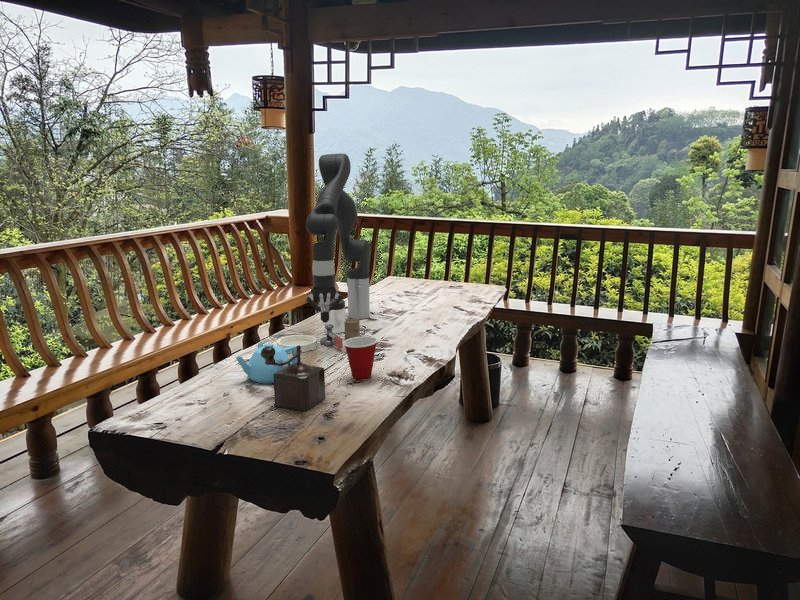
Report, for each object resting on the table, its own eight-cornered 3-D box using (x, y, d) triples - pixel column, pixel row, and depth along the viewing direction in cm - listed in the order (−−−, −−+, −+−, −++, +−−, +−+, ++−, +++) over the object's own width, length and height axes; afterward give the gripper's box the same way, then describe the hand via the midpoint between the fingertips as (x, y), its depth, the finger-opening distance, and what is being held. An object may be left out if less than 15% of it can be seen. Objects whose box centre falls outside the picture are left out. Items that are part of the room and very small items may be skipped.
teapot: (282, 388, 175) (280, 353, 173) (236, 384, 179) (233, 349, 177) (303, 371, 190) (302, 339, 187) (260, 367, 194) (258, 335, 191)
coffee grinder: (293, 392, 172) (290, 332, 168) (326, 398, 168) (324, 337, 164) (260, 413, 158) (256, 348, 154) (295, 419, 154) (292, 353, 150)
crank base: (317, 342, 221) (316, 324, 219) (335, 339, 224) (334, 322, 222) (323, 347, 215) (323, 329, 213) (342, 344, 218) (341, 326, 216)
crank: (329, 342, 217) (328, 332, 216) (333, 341, 218) (332, 331, 217) (338, 349, 209) (338, 338, 208) (342, 348, 210) (342, 338, 209)
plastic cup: (348, 370, 190) (347, 334, 188) (381, 372, 189) (381, 335, 186) (339, 382, 180) (338, 344, 177) (374, 384, 178) (373, 346, 176)
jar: (329, 335, 230) (328, 304, 227) (320, 330, 237) (319, 300, 234) (350, 331, 235) (349, 301, 232) (340, 326, 241) (339, 297, 239)
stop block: (346, 336, 228) (346, 319, 226) (359, 336, 227) (359, 319, 226) (344, 340, 223) (344, 322, 221) (358, 340, 223) (357, 322, 221)
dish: (272, 344, 218) (272, 337, 217) (309, 339, 224) (309, 333, 223) (283, 355, 205) (283, 348, 205) (322, 349, 212) (322, 342, 211)
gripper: (341, 270, 209) (342, 318, 213) (303, 271, 206) (304, 320, 209) (344, 273, 202) (345, 323, 205) (305, 275, 199) (306, 325, 202)
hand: (324, 322), depth 207 cm, fingers closed
